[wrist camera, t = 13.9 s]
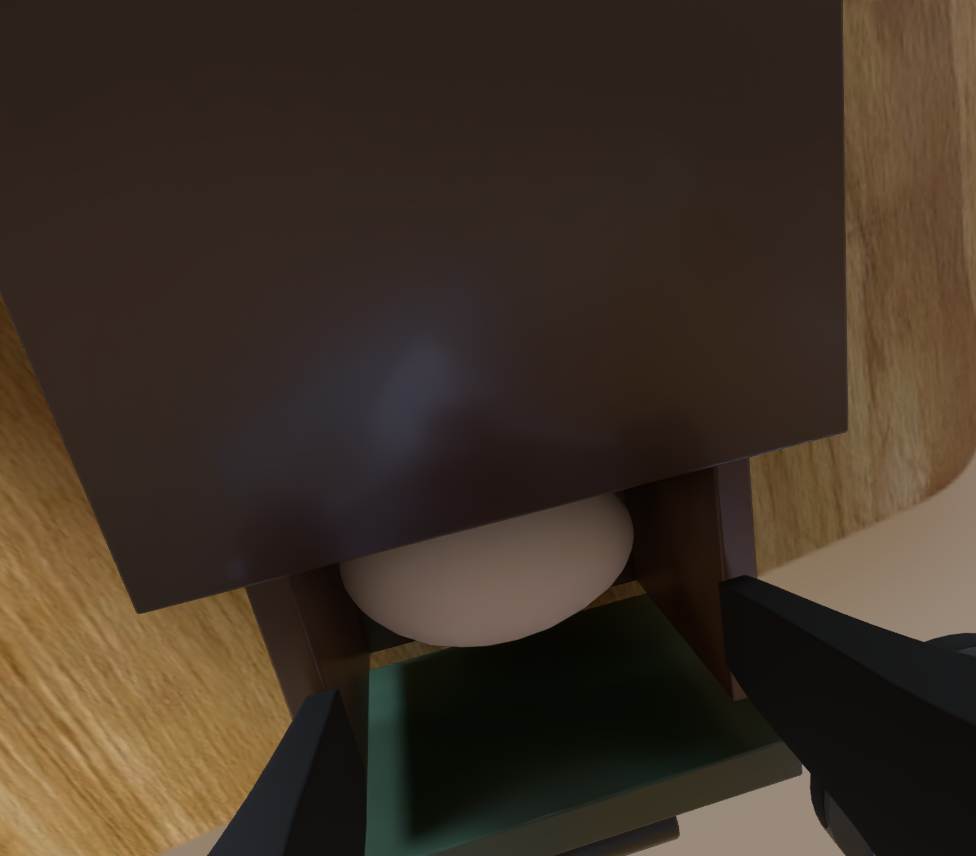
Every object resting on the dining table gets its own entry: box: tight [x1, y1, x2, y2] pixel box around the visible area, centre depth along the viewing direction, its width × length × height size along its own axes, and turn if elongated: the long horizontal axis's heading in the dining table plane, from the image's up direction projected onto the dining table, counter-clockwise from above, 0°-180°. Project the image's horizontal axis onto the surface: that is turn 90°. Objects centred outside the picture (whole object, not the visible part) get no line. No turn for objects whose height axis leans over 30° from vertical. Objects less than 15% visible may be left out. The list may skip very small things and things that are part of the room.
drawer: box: [245, 457, 802, 856], centre depth 16 cm, size 18×11×7 cm, turn 11°
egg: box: [339, 492, 634, 647], centre depth 15 cm, size 5×5×7 cm
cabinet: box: [0, 0, 848, 614], centre depth 12 cm, size 15×13×9 cm
